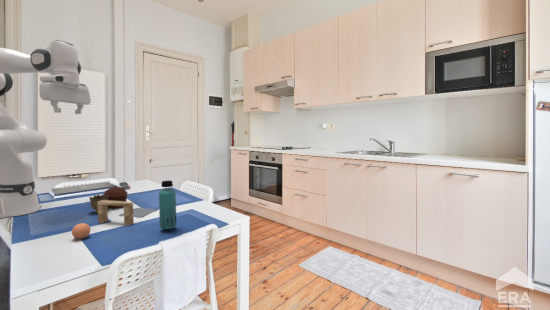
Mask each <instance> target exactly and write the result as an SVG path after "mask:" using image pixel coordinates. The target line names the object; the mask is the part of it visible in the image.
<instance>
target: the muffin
mask: <svg viewBox="0 0 550 310" xmlns="http://www.w3.org/2000/svg"><path fill="white" fill-rule="evenodd" d="M102 195H103V196H104V195H107V196H108V200H112V201H126V202H127V200H128V199H127V198H128V191H127V190H126V189H125V188H123V187H121V186H114V187H109V188H107V189H106V190H105V191H104V192H103V194H102ZM107 207H108V210H116V209H117V210H119V209H122V208H124V206H112V205H107Z"/></svg>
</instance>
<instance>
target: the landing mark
mask: <svg viewBox="0 0 550 310" xmlns="http://www.w3.org/2000/svg"><path fill="white" fill-rule="evenodd" d="M158 210H159V209H157V208H145V207H144V208H143V207H135V208H133V218H134V217H135V218H144V217H146V216H147V215H150V214H152V213H154V212H157V211H158ZM118 216H120V217H124V212H123V213H121V214H118Z"/></svg>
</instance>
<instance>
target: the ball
mask: <svg viewBox="0 0 550 310" xmlns="http://www.w3.org/2000/svg"><path fill="white" fill-rule="evenodd" d="M90 233H91V227H90V225H89V224H87V223H85V222H84V223H83V222H82V223H77V224H75V225H74V226H73V228H72V230H71V235H72V237H73V238H75V239H79V240H80V239H81V240H82V239H84V238H86V237H88V236H89V235H90Z"/></svg>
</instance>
